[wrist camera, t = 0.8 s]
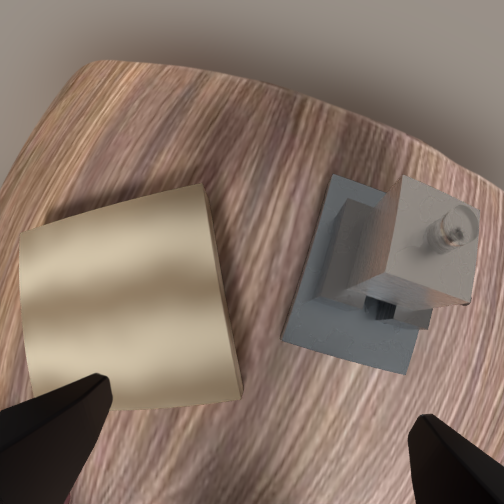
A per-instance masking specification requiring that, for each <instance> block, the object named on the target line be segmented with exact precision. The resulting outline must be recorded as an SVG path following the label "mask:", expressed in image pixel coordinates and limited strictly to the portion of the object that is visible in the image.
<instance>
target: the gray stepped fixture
mask: <svg viewBox="0 0 504 504" xmlns="http://www.w3.org/2000/svg"><path fill="white" fill-rule="evenodd" d="M385 194H386V193H385V192H382V191H380V190H377V189H374V188H372V187H369V186H366V185H364V184H361V183H358V182H355V181H352V180H350V179H347V178H344V177H341V176H338V175H335V174H332V177H331V179H330V181H329V183H328V186H327V189H326V193H325V196H324V200H323V204H322V207H321V211H320V214H319V218H318V221H317V224H316V228H315V231H314V235H313V238H312V241H311V245H310V248H309V251H308V254H307V258H306V261H305V264H304V267H303V270H302V274H301V277H300V280H299V283H298V286H297V289H296V292H295V295H294V298H293V302H292V305H291V308H290V311H289V314H288V317H287V319H286V322H285V325H284V328H283V331H282V334H281V337H280V340H282V341H284V342H288V343H291V344H294V345H297V346H300V347H304V348H307V349H310V350H314V351H317V352H320V353H324V354H327V355H331V356H334V357H338V358H341V359H345V360H348V361H352V362H356V363H359V364H363V365H367V366H371V367H374V368H378V369H382V370H386V371H390V372H394V373H399V374H403V375H406V372H407V369H408V366H409V363H410V359H411V356H412V353H413V349H414V346H415V342H416V339H417V335H418V331H419V330H428V326H429V322H430V318H431V314H432V310H433V308H432V309H424V310H417V311H412V310H409V309H406V308H403V307H400V306H397V305H394V304H391V303H388V302H385V301H382V300H379V299H375V298H372V297H369V296H366V295H363V294H360V293H357V292H354V291H351V290H348V289H347V286H348V283H349V279H350V276H351V272H352V268H353V265H354V261H355V257H356V253H357V249H358V245H359V241H360V237H361V233H362V228H363V224H364V220H365V217H366V216H367V214H368V213H369V212H370V211H371V210H372V209H373V208H374V207H375V206H376V204H377V203H378V202H379V201H380V200H381V199H382V198H383V197H384V196H385ZM471 299H472V298H471ZM470 302H471V300H470ZM469 304H470V303H465V304H460V305H463V306H467V305H469Z"/></svg>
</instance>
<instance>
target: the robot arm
mask: <svg viewBox="0 0 504 504" xmlns="http://www.w3.org/2000/svg"><path fill="white" fill-rule="evenodd" d="M112 402H113V395H112V390H111V384H110V379H109V378H108V377H107V376H106V375H102V374H99V373H93V374H91V375H89V376H86V377H84V378H81V379H79V380H77V381H74V382H72V383H69V384H67V385H65V386H62V387H60V388H57V389H55V390H52V391H50V392H47V393H45V394H42V395H40V396H37V397H35V398H32V399H30V400H27V401H25V402H22V403H20V404H17V405H14V406H12V407H9V408H6V409H4V410H1V412H0V504H64V502H65V500H66V498H67V497H68V495H69V493H70V491H71V489H72V487H73V485H74V483H75V481H76V479H77V478H78V476H79V474H80V472H81V470H82V468H83V466H84V464H85V463H86V461H87V459H88V457H89V455H90V453H91V452H92V450H93V448H94V446H95V444H96V442H97V440H98V437H99V435H100V432H101V430H102V427H103V425H104V422H105V420H106V417H107V415H108V412H109V410H110V408H111V405H112ZM408 447H409V457H410V467H411V478H412V484H413V490H414V495H415V500H416V504H504V466H502V465H501V464H500V463H498V462H497V461H495V460H494V459H493V458H491V457H490V456H489V455H487V454H486V453H484V452H483V451H482V450H480V449H479V448H478V447H476V446H475V445H474V444H472V443H471V442H470V441H468V440H467V439H465V438H464V437H463V436H461V435H460V434H459V433H457V432H456V431H455V430H453V429H452V428H451V427H449V426H448V425H447V424H445V423H444V422H443V421H441V420H440V419H439V418H437V417H436V416H435V415H433V414H422V415H420V416H419V417H418V418H417V420H416V422H415V423H414V425H413V427H412V429H411V430H410V432H409V435H408Z"/></svg>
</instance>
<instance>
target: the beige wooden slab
mask: <svg viewBox="0 0 504 504" xmlns="http://www.w3.org/2000/svg"><path fill="white" fill-rule="evenodd" d="M19 282H20V303H21V316H22V327H23V336H24V344H25V351H26V358H27V364H28V370H29V375H30V380H31V385H32V390H33V395H34V398H35V397H37V396H40V395H42V394H45V393H47V392H50V391H52V390H55V389H57V388H60V387H62V386H65V385H67V384H69V383H72V382H74V381H77V380H79V379H81V378H84V377H86V376H89V375H91V374H93V373H99V374H102V375H106V376H107V377H108V378H109V379H110V384H111V390H112V395H113V402H112V405H111V408H110V410H109V411H117V410H146V409H162V408H175V407H186V406H196V405H204V404H213V403H220V402H227V401H234V400H241V397H242V394H243V390H244V388H243V383H242V379H241V374H240V369H239V364H238V359H237V354H236V349H235V344H234V339H233V333H232V328H231V323H230V318H229V312H228V307H227V302H226V296H225V291H224V285H223V279H222V274H221V268H220V262H219V257H218V251H217V245H216V239H215V233H214V227H213V221H212V214H211V208H210V202H209V198H208V196H207V193H206V191H205V189H204V186H203V184H202V183H199V184H195V185H190V186H186V187H181V188H177V189H172V190H168V191H164V192H160V193H156V194H152V195H148V196H144V197H140V198H136V199H132V200H128V201H124V202H120V203H117V204H113V205H109V206H106V207H102V208H99V209H95V210H92V211H88V212H85V213H81V214H78V215H75V216H71V217H68V218H65V219H62V220H58V221H55V222H52V223H49V224H46V225H43V226H40V227H37V228H34V229H31V230H28V231H25V232H22V233H20V244H19Z"/></svg>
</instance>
